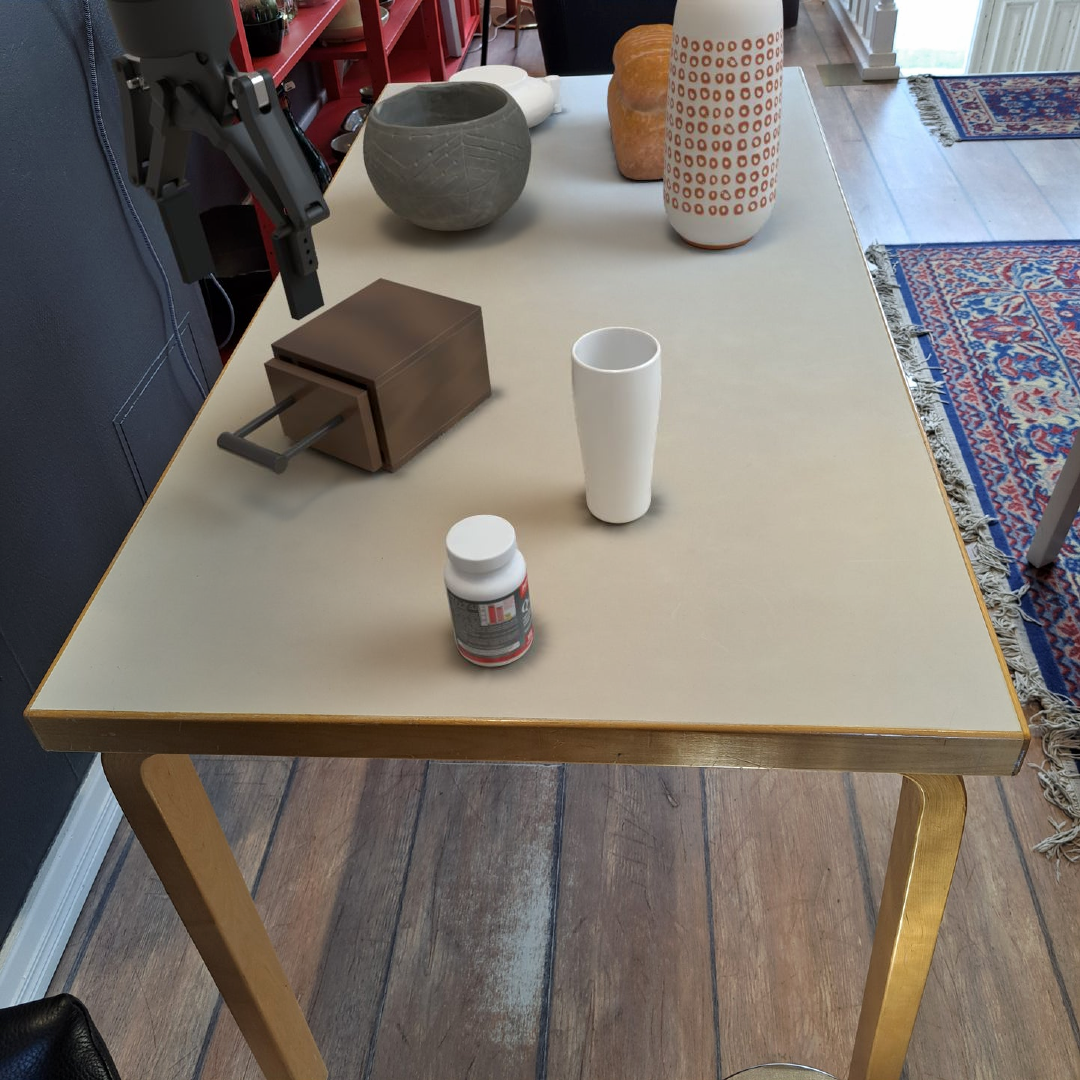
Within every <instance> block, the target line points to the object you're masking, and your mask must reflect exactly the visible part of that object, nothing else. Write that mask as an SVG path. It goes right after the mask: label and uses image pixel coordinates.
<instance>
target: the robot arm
mask: <svg viewBox="0 0 1080 1080" xmlns="http://www.w3.org/2000/svg"><path fill="white" fill-rule="evenodd" d="M105 3H106V6H107V10H108V13H109V16H110V19H111V22H112V25H113V29H114V32H115V35H116V38H117V41H118V44H119V46H120V49H122V51H123V52H124V53H125V54H122V55H120V56H116V57H112V58H111V60H110V65H111V68H112V71H113V75H114V78H115V81H116V84H117V87H118V90H119V98H120V110H121V120H122V130H123V131H122V132H123V139H124V150H125V151H124V152H125V160H126V162H125V163H126V169H127V170H126V171H127V177H128V180H129V183H130V184H131V185H132V186H133V187H134V188H140V187H143V188H144V189H145V192H146V193H147V195H148V197H149V198H150V199H152V200H153V201H155V204H156V207H157V210H158V214H159V216H160V218H161V222H162V225H163V228H164V231H165V233H166V235H167V237H168V241H169V243H170V246H171V249H172V252H173V255H174V258H175V260H176V265H177V266H178V271H179V273H180V277H181V279H182V283H183V284H186V285H192V284H194V283H196V282H197V281H200V280H201V279H203V278H205V277H208V276H210V275H212V274H213V273H216V268H215V264H214V260H213V258H212V254H211V251H210V247H209V244H208V241H207V238H206V234H205V231H204V228H203V225H202V221H201V218H200V214H199V212H198V207H197V204H196V201H195V198H194V194H193V192H192V191H190V190H183V191H181V192H179V190H181V189H183V188H186V187H187V186H190V182H188V180H187V179H186V178H185V173H186V168H187V161H188V157H189V151H190V145H191V141H192V140H191V139H192V134H193V131H194V132H196V133H198V134H199V135H200V136H205V137H207V138H208V140H209V141H210V143H211V144H212V146H214V147H215V148H216V149H219V150H221V151H224V152H225V154H226V156H227V157H228V158H229V160H230V161H231V163H232V164H233V166H234V168H235V169H236V171H238V173H239V175H240V176H241V178H242V179H243V181H244V182H245V184H246V185H247V187H248V188H249V189H250V191H251V192H252V194H253V195H254V197H255V198H256V201H258V203H259V204H260V206H261V207H262V209H263V210H264V212H265V213H266V215H267V216H268V218H269V219H270V221H271V222H272V223H273V225H274V227H275V228H276V229H274V230H273V231H272V232H271V233H269V237H270V240H271V244H272V248H273V252H274V256H275V260H276V263H277V268H278V271H279V275H280V279H281V282H282V287H283V290H284V294H285V298H286V303H287V305H288V306H287V307H288V310H289V314H290V318H291V319H292V320H295V321H300V320H302V319H304V318H305V317H308V316H309V315H311V314H312V313H314V312H316V311H318V310H319V309H320V308H323V307H324V306H325V301H324V295H323V292H322V289H321V288H322V287H321V284H320V283H321V282H320V278H319V275H318V271H317V270H319V260H318V259H319V258H318V256H317V250H316V247H315V241H314V237H313V233H312V227H313V226H316V225H317V224H320V223H321V222H323V221H325V220H327V219H328V218H330V216H331V211H330V208H329V206H328V203H327V201H326V199H325V197H324V195H323V193H322V190H321V189H320V187H319V184H318V182H317V180H316V177H315V176H314V174H313V171H312V170H311V168H310V165H309V163H308V162H307V160H306V157H305V155H304V153H303V150H302V148H301V147H300V144H299V143H298V141H297V138H296V136H295V134H294V132H293V129H292V128H291V126H290V123H289V121H288V119H287V117H286V115H285V113H284V111H283V108H282V107H281V104H280V101H279V96H278V93H277V89H276V85H275V80H274V77H273V75H272V73H271V71H270V70H269V69H267V68H266V67H263V68H259V69H257V70H253V71H251V72H245V71H244V72H242V71H239V68H238V67H237V66H236V64H235V62H234V59H233V57H232V54H231V51H230V47H231V43H232V41H233V40H234V39H235V37H236V36H237V32H238V25H237V21H236V17H235V13H234V9H233V4H232V1H231V0H105ZM235 119H237V121H238V122H237V123H235V124H234V122H235ZM146 162H148V163H147V164H145V165H143V163H146ZM286 212H287V213H286Z"/></svg>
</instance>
